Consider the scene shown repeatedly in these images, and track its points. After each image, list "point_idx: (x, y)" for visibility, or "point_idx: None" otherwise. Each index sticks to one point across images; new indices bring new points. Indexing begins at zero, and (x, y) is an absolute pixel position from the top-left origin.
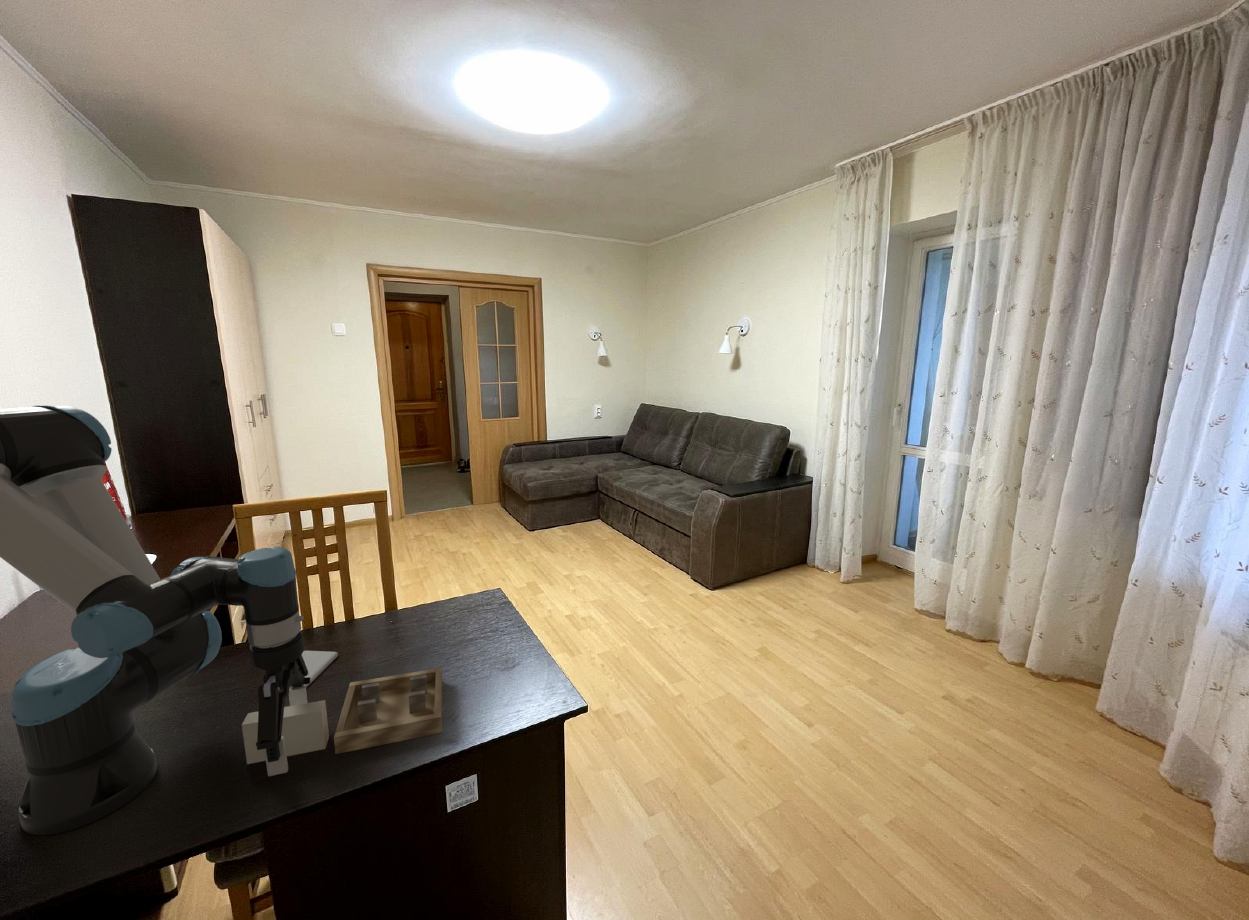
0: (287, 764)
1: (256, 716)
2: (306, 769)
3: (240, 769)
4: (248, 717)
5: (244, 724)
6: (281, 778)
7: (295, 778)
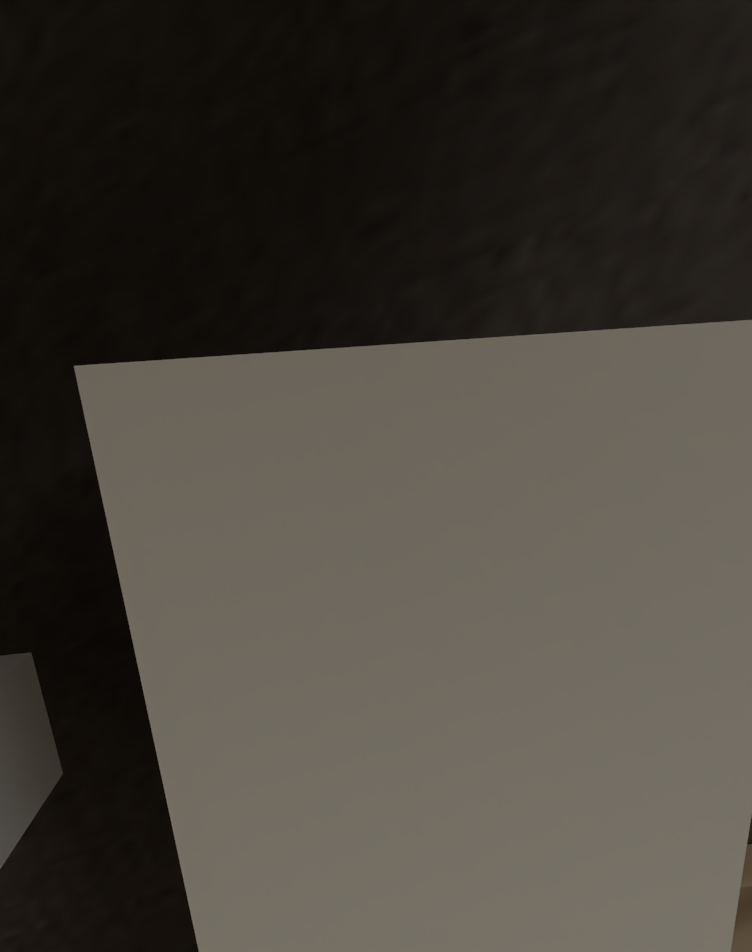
0: (24, 820)
1: (506, 689)
2: (153, 797)
3: (229, 328)
4: (530, 440)
5: (113, 463)
6: (84, 676)
7: (73, 762)
